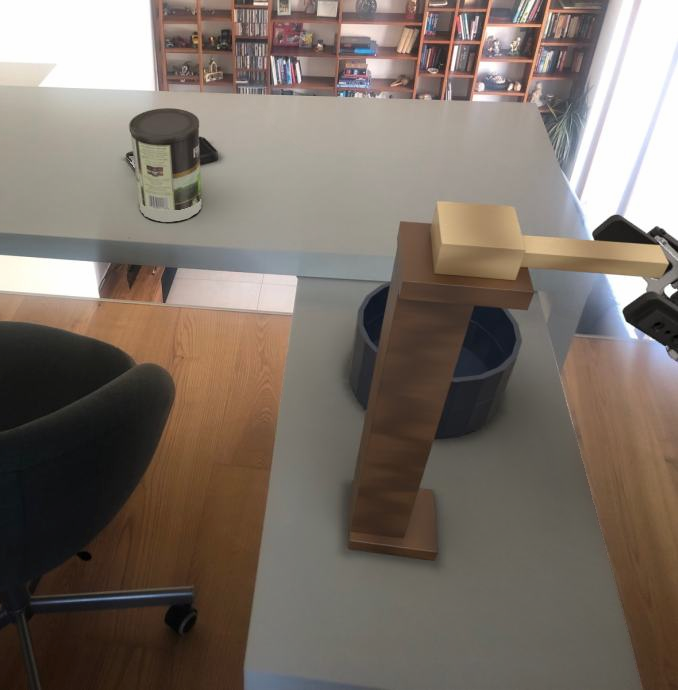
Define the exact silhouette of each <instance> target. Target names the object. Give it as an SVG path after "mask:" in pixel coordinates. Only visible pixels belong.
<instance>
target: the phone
mask: <svg viewBox="0 0 678 690" xmlns="http://www.w3.org/2000/svg"><path fill="white" fill-rule="evenodd" d="M199 151H200V165H202V164H207V163H211V162H215V161H217V160H218V159H219V151H218V150H217V149H216V148H215V147H214V146H213V145H212V144H211V143H210V141H208V139H207V138H205V137H204V136H199ZM129 156H133V150H132V151H131V150H130V151H128V152H127V153H126V154H125V158H126V159H125V160H126V162H127V164H128V166H130V168H131V169H132V170H133V172H134V173H135V168H134V167H133V165H132V164H131V163H130V161H131V162H132V160H131V159H130V158H129ZM127 158H128V159H129V160H130V161H129V160H128V159H127Z"/></svg>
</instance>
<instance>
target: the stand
mask: <svg viewBox="0 0 678 690" xmlns="http://www.w3.org/2000/svg"><path fill="white" fill-rule="evenodd" d="M431 225H432V222H431V223H430V222H416V221H405V220H402V221H401V220H400V222H399V225H398V231H397V236H396V252H395V257H394V262H393V268H392V273H391V276H390V277H391V278H390V281H389V282H390V288H389V293H388V298H387V304H386V309H385V314H384V320H383V325H382V330H381V335H380V341H379V346H378V351H377V357H376V362H375V367H374V372H373V378H372V383H371V388H370V394H369V399H368V404H367V410H365V416H364V421H363V425H362V431H361V436H360V440H359V441H360V442H359V447H358V452H357V458H356V464H355V468H354V473H353V478H352V480H351V483H350V487H349V488H350V489H349V492H350V493H349V513H348V515H349V518H348V541H347V543H348V544H347V549H349V550H355V551H361V552H369V553H376V554H383V555H391V556H397V557H406V558H413V559H420V560H427V561H436V559H437V556H438V553H439V552H438V550H439V549H438V538H437V536H438V535H437V524H436V508H435V494H434V490H433V489H427V488H421V487H420V486H421V484H422V480H423V477H424V474H425V470H426V467H427V464H428V461H429V458H430V453H431V451H432V447H433V444H434V441H435V438H434V437H435V434H436V431H437V427H438V424H439V421H440V417H441V414H442V411H443V408H444V404H445V401H446V398H447V394H448V391H449V388H450V384H451V381H452V378H453V374H454V371H455V368H456V364H457V361H458V358H459V354H460V351H461V348H462V344H463V341H464V338H465V334H466V331H467V328H468V324H469V321H470V318H471V315H472V311H473V308H474V306H484V307H496V308H507V309H508V310H518V311H519V310H520V311H528V310H529V308H530V306H531V302H532V300H533V297H534V294H535V289H534V285H533V281H532V277H531V274H530V270H529V268H525V267H520V269H519V271H518V274H517V277H516V280H504V279H492V278H480V277H468V276H456V275H444V274H435V273H434V264H433V254H432V243H431V233H430V229H431Z"/></svg>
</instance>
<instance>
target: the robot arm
mask: <svg viewBox="0 0 678 690" xmlns="http://www.w3.org/2000/svg"><path fill="white" fill-rule="evenodd" d="M591 236H592V238H593V239H592V240H595V241H608V242H622V243H635V244H649V245H660V247H661V249H662V251H663V253H664V255H665V257H666V259H667V260H668V262H669V264H668V266H667V268H666V270H665V272H664V274H663V276H662V278H649V277H641V279H643V280H644V281H645V282H646V283H647V286H646V289H645V291H646V292H643V293H642V294H641V295H640V296H638V297H636V298H635V299H634V300H632V301H631V302H630V303H628V304H627V305H625V306H624V307H623V309H622V311H621V312H622V315H623V318H624V320H625V322H626V323H627V324H628V325H631V326H632V327H634V328H635V329H636V330H638V331H640V332H641V333H643V334H645V335H646V336H647V337H649V338H651V339H652V340H653V341H656V342H657V343H659V344H660V345H662V346H663V347H665V351H666V353H667V355H668V356H669V358H670V359H672V360H674V361H675V362H676V363H678V239H677V238H675V237H674V236H673V235H671V234H669V233H668V232H667V231H666V230H665V229H664V228H663V227H659V226H658V225H655V226H654V227H653V228H651V229H650V230H648V231H647V232H646V231H645V230H643V229H641V228H640V227H638V226H637V225H635V223H633V222H631V221H630V220H628V219H627V218H626V217H623V216H622V215H621V214H612V215H609V217H608V218H606V219H605V220H604V221H603V222H602V223H600V224H599V225H598V226H597V227H595V228H594V229H593V231H592V233H591ZM669 285H670V287H671V288H672V289H674V290H676V291H675V292H673V293H672V294H671V295H670V296H669V295H667V294H666V292H665V288H666V287H668V286H669Z"/></svg>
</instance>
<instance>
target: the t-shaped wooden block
mask: <svg viewBox="0 0 678 690" xmlns="http://www.w3.org/2000/svg"><path fill="white" fill-rule="evenodd" d="M434 207H435V208H434V212H433V216H432V221H431V223H432V225H431V229H430V233H431V243H432V254H433V264H434V273H435V274H444V275H456V276H468V277H480V278H492V279H504V280H516V277H517V274H518V271H519V269H520V267H525V268H528V269H538V270H550V271H552V270H553V271H564V272H575V273H576V272H577V273H589V274H600V275H613V276H626V277H639V278H642V277H649V278H662V276H663V274H664V272H665V270H666V268H667V266H668V264H669V262H668V260H667V259H666V257H665V255H664V253H663V251H662V249H661V247H660V245H649V244H635V243H622V242H608V241H595V240H594V239H583V238H582V239H580V238H579V239H578V238H567V237H553V236H541V235H540V236H539V235H527V234H522V230H521V226H520V222H519V219H518V215H517V211H516V207H515V206H514V205H503V204H502V205H499V204H487V203H472V202H471V203H470V202H457V201H444V200H443V201H442V200H437V201H436V204H435V206H434Z"/></svg>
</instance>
